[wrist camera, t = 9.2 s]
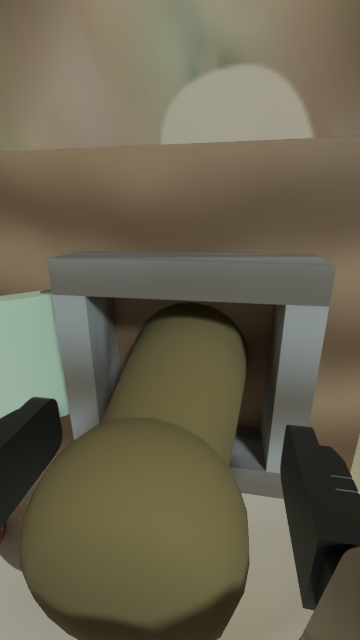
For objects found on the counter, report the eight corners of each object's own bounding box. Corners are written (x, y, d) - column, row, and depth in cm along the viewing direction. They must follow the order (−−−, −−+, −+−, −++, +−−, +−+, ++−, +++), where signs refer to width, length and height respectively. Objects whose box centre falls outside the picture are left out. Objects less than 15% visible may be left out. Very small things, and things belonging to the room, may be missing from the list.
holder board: (-91, 162, 16) (-202, 143, 12) (409, 142, 12) (499, 104, 8) (-18, 428, 22) (-76, 477, 18) (336, 474, 18) (366, 550, 14)
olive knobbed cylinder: (240, 413, 16) (252, 745, 6) (134, 396, 17) (-11, 664, 7) (257, 309, 14) (318, 546, 4) (136, 296, 15) (-68, 464, 5)
